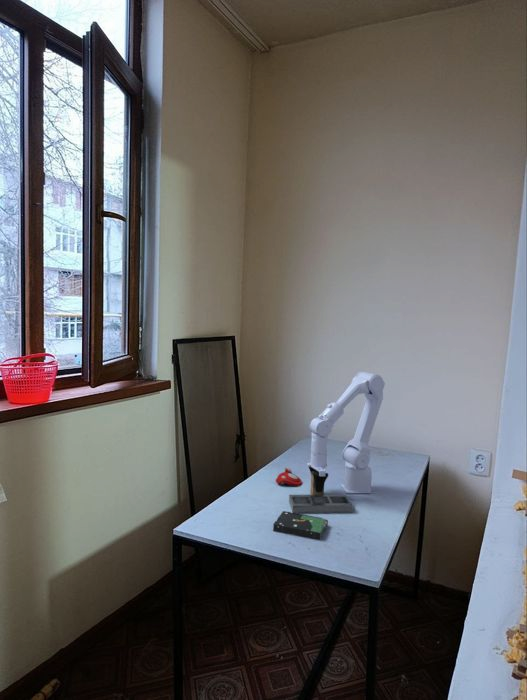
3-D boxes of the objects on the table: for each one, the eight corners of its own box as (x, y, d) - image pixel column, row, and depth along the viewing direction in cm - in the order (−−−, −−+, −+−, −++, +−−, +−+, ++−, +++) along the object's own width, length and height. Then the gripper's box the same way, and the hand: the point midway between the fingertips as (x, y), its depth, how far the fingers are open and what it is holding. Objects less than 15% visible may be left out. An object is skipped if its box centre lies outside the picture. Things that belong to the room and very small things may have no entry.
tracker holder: (308, 482, 184) (286, 480, 178) (303, 492, 185) (282, 491, 179) (290, 464, 194) (270, 462, 189) (286, 474, 195) (266, 473, 189)
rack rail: (345, 501, 170) (345, 494, 169) (352, 512, 161) (352, 505, 161) (288, 501, 168) (289, 494, 168) (292, 513, 159) (293, 505, 159)
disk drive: (272, 533, 146) (321, 541, 141) (272, 524, 146) (321, 532, 141) (282, 518, 156) (328, 526, 151) (282, 510, 156) (328, 517, 151)
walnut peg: (321, 493, 176) (322, 471, 176) (323, 497, 173) (324, 475, 172) (310, 493, 176) (311, 471, 175) (312, 497, 172) (313, 475, 171)
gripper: (304, 445, 179) (302, 481, 181) (311, 458, 165) (310, 496, 167) (323, 445, 180) (321, 481, 182) (332, 458, 166) (330, 496, 167)
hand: (317, 488), depth 174 cm, fingers open, 5 cm apart
